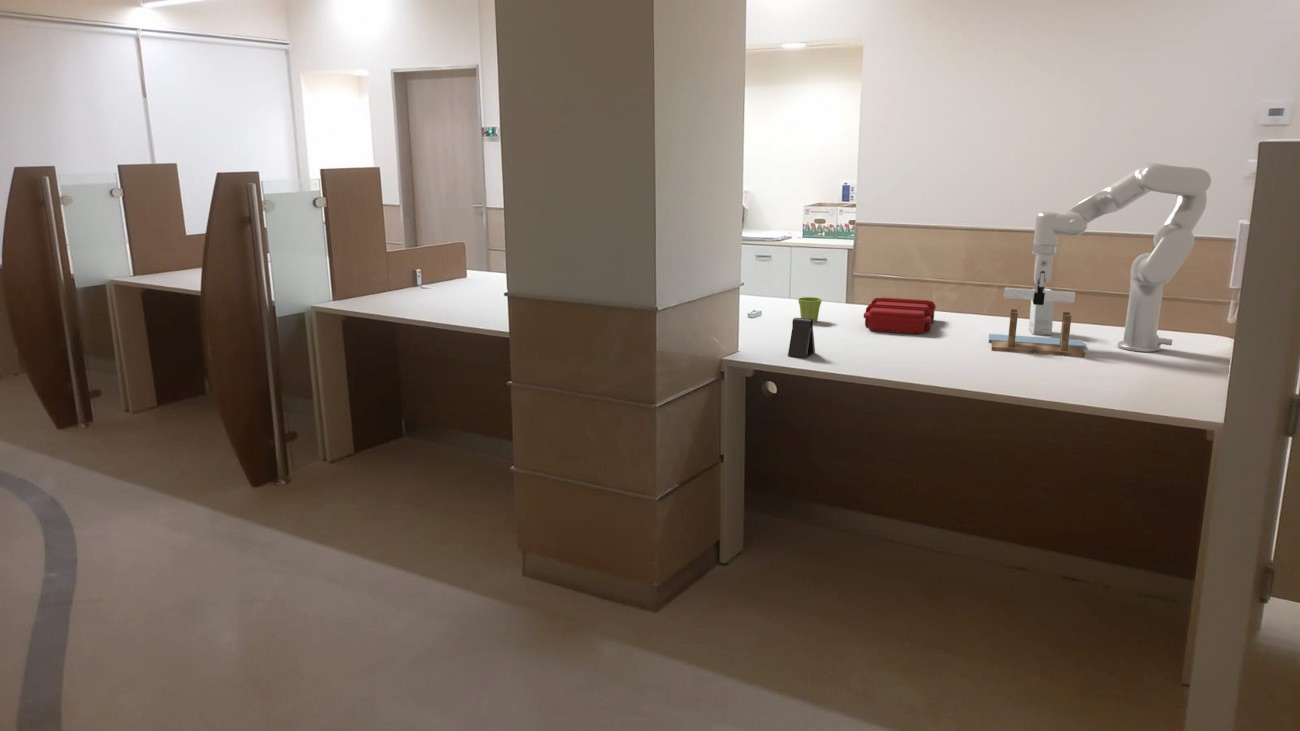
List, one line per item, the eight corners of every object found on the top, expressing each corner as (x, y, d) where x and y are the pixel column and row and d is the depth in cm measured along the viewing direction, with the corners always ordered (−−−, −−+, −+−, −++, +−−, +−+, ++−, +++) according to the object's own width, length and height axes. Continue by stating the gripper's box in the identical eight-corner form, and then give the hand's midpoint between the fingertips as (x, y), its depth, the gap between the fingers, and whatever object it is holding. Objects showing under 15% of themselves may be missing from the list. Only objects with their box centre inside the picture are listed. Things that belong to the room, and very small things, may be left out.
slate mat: (1082, 342, 308) (1082, 340, 307) (1084, 349, 299) (1084, 346, 298) (988, 336, 318) (989, 333, 318) (988, 342, 309) (988, 339, 309)
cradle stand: (1081, 350, 297) (1086, 312, 294) (1084, 357, 288) (1089, 318, 285) (991, 343, 307) (995, 307, 303) (991, 350, 298) (995, 312, 294)
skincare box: (1051, 335, 319) (1056, 292, 315) (1031, 334, 321) (1036, 291, 317) (1046, 330, 327) (1051, 288, 323) (1027, 330, 328) (1031, 287, 325)
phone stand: (805, 358, 288) (806, 322, 285) (787, 356, 291) (788, 320, 288) (815, 353, 295) (816, 317, 292) (798, 350, 298) (799, 315, 295)
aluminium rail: (1073, 301, 302) (1074, 292, 302) (1074, 303, 299) (1075, 293, 299) (1003, 296, 310) (1004, 287, 309) (1003, 298, 307) (1004, 288, 306)
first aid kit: (874, 316, 356) (875, 294, 354) (935, 320, 348) (937, 298, 346) (861, 332, 328) (862, 308, 325) (927, 337, 319) (929, 313, 317)
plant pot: (791, 320, 347) (792, 298, 345) (811, 318, 352) (812, 296, 349) (806, 324, 339) (807, 302, 337) (826, 322, 344) (827, 299, 341)
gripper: (1058, 253, 292) (1051, 308, 296) (1055, 247, 306) (1048, 300, 311) (1033, 251, 294) (1026, 307, 299) (1031, 246, 309) (1025, 298, 314)
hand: (1038, 303), depth 305 cm, fingers closed on aluminium rail, 3 cm apart
